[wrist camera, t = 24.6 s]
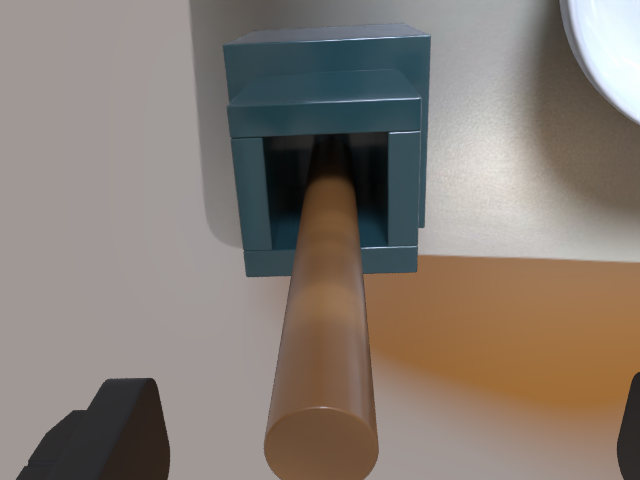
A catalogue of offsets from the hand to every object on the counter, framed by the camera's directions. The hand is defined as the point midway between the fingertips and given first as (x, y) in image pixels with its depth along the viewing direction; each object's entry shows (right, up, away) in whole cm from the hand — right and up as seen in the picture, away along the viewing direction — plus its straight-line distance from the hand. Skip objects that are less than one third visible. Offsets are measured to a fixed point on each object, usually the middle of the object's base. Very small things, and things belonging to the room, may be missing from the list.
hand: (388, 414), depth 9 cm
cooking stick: (-1, +7, +19) cm, 21 cm away
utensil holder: (0, +13, +29) cm, 32 cm away
